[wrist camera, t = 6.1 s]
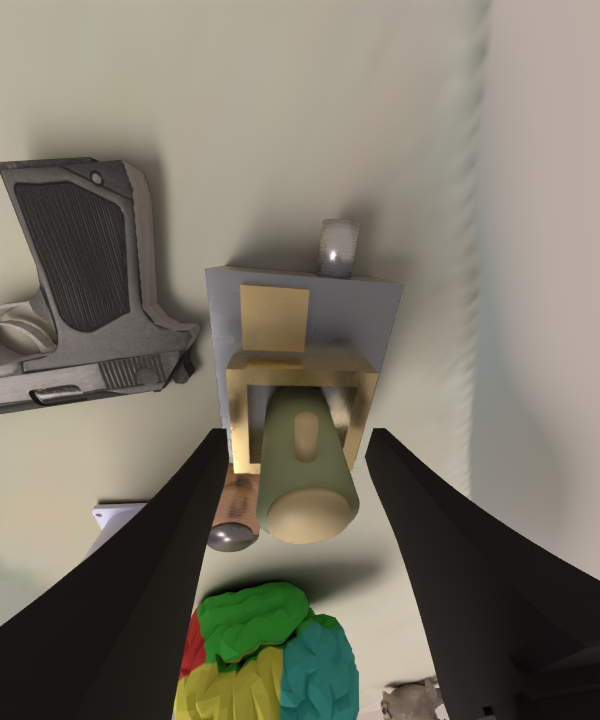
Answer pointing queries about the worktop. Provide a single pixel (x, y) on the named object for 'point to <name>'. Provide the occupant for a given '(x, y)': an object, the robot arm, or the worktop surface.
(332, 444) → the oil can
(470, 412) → the worktop surface
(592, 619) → the robot arm
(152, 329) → the handgun
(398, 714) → the animal model
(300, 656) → the brain model
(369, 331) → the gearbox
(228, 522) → the copper can
